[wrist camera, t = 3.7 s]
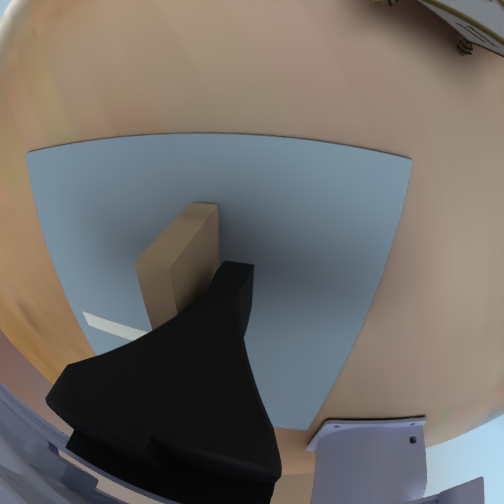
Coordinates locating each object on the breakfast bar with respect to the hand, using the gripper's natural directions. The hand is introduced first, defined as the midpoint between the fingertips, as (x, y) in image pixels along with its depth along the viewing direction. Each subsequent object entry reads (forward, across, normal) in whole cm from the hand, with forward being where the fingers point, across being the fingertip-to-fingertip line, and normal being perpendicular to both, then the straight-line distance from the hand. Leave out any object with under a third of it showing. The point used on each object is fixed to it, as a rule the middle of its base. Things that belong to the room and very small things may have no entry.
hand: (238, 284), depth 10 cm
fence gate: (+1, +1, +1) cm, 2 cm away
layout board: (+1, +3, +5) cm, 7 cm away
